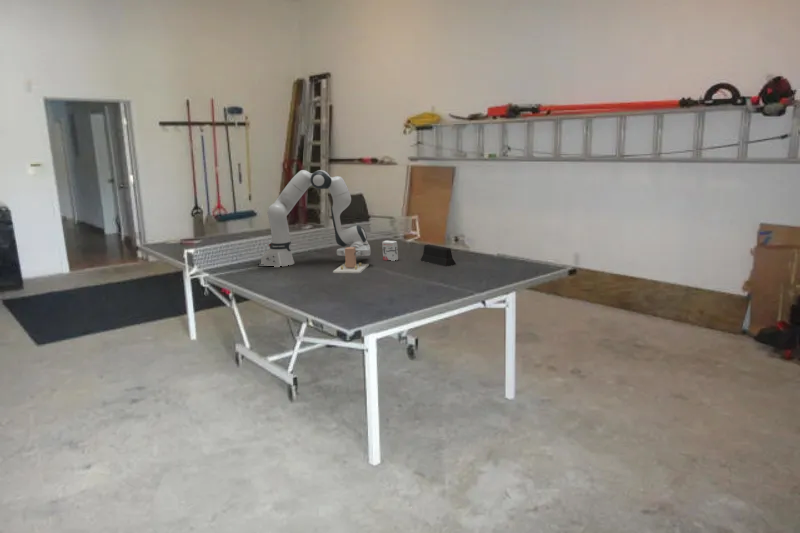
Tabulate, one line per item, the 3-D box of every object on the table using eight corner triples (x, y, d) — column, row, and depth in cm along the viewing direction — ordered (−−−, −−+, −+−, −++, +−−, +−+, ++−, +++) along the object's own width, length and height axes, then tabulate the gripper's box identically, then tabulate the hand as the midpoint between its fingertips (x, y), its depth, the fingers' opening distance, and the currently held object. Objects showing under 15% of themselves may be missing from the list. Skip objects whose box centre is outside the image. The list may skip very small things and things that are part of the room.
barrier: (456, 264, 337) (456, 248, 335) (445, 267, 332) (445, 250, 330) (430, 259, 355) (429, 243, 353) (419, 261, 350) (419, 245, 348)
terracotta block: (345, 267, 333) (344, 248, 330) (348, 265, 337) (347, 247, 335) (354, 267, 332) (353, 248, 329) (356, 265, 336) (355, 247, 334)
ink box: (382, 260, 356) (381, 241, 353) (386, 258, 360) (385, 240, 357) (394, 261, 352) (393, 242, 349) (398, 259, 356) (397, 241, 353)
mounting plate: (333, 273, 327) (332, 267, 326) (343, 265, 346) (343, 260, 345) (359, 273, 324) (359, 268, 323) (368, 265, 343) (368, 260, 342)
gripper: (339, 244, 347) (332, 249, 334) (372, 244, 343) (366, 249, 330) (340, 254, 348) (333, 259, 335) (372, 254, 344) (367, 259, 331)
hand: (350, 254), depth 332 cm, fingers open, 5 cm apart
